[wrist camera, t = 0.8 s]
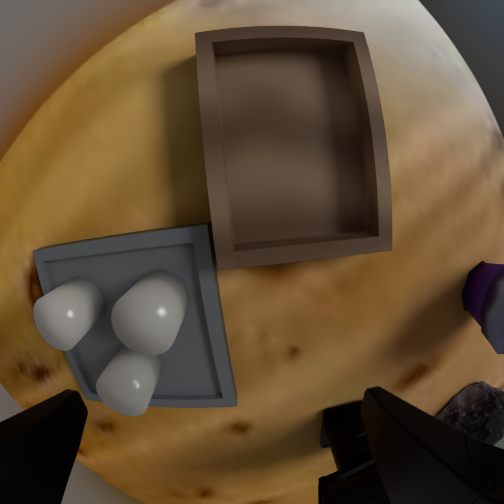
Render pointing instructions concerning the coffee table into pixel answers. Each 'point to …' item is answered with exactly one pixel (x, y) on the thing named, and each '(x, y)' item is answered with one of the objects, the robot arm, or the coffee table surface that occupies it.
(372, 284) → the coffee table surface
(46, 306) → the stone
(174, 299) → the stone
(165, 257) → the slate tray
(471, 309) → the potion bottle
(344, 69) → the walnut box
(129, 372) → the stone
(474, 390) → the crystal cluster
